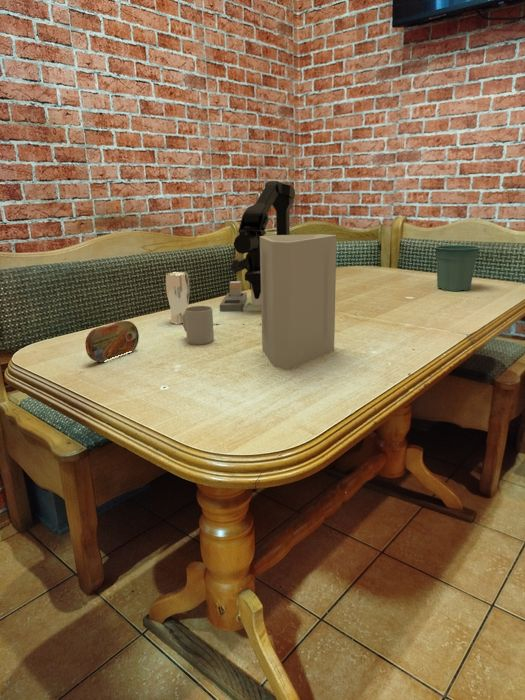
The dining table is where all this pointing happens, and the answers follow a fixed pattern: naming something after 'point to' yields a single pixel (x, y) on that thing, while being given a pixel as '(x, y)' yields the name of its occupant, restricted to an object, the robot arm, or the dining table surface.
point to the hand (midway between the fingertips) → (257, 297)
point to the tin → (111, 340)
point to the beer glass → (177, 294)
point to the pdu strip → (234, 298)
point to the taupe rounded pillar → (297, 297)
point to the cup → (198, 324)
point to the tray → (251, 307)
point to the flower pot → (455, 266)
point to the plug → (254, 301)
